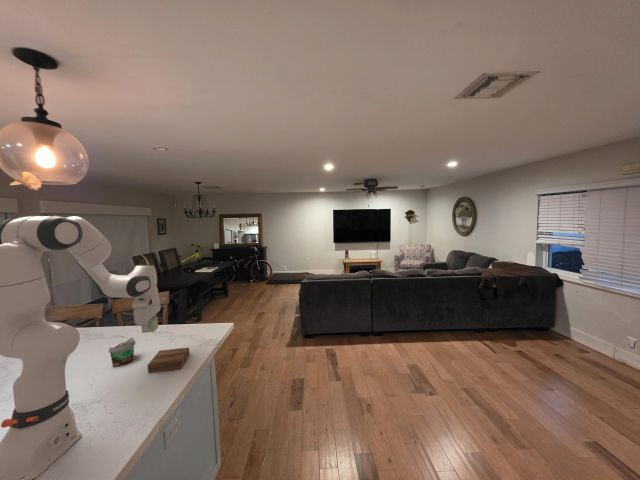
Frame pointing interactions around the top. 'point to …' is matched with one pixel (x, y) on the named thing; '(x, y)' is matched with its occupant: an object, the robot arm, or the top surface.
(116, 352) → the food container
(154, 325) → the sage block
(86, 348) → the top surface
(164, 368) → the walnut base
